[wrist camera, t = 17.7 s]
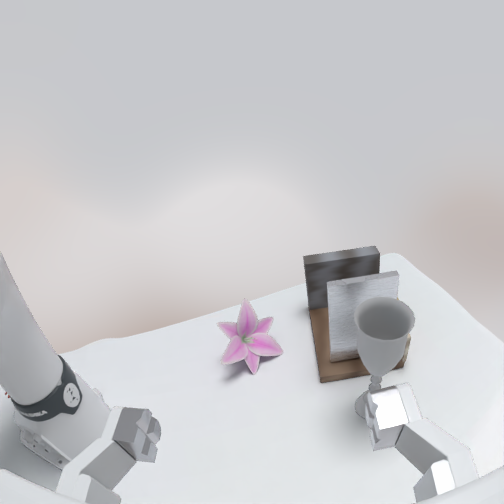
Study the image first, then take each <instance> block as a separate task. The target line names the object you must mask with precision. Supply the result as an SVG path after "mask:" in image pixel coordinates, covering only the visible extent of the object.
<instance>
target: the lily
mask: <svg viewBox="0 0 504 504" xmlns="http://www.w3.org/2000/svg"><path fill="white" fill-rule="evenodd" d="M272 323H273V317H267V318H263V319H260V320H258V318H257V315H256V313H255V311H254V309H253V307H252V306H251V304H250V302H249V301H248V300H247V299H246V298H244V299H243V301H242V304H241V308H240V313H239V316H238V321H237V323H234V322H218V323H217V326H218V327H219V328H220V329H221V331H222V332H223V333H224V334H225V335H226V336H227V337H228V338H229V339H230V342H229V344H228V346H227V348H226V350H225V352H224V354H223V356H222V359H221V364H222V365H227V364H232V363H235V362H238V361H241V360H243V359H245V361H246V363H247V365H248V367H249V369H250V370H251V372H252V373H253V374H256V372H257V369H258V365H259V359H260V356H278V355H282V354H283V350H282V348H281V347H280V346H279V344H278V343H277V342H276V341H275V340H274V339H273V338H272V337H271V336H269V335H268V334H267V333H268V332H269V330H270V328H271V325H272Z"/></svg>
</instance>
